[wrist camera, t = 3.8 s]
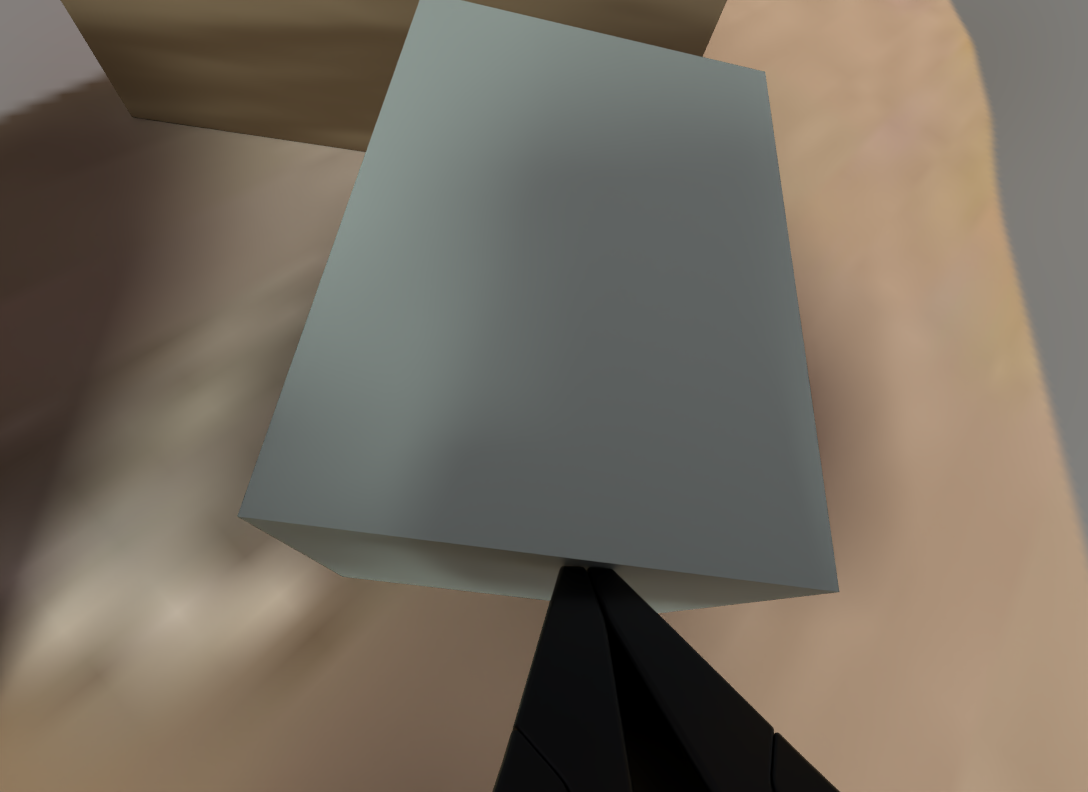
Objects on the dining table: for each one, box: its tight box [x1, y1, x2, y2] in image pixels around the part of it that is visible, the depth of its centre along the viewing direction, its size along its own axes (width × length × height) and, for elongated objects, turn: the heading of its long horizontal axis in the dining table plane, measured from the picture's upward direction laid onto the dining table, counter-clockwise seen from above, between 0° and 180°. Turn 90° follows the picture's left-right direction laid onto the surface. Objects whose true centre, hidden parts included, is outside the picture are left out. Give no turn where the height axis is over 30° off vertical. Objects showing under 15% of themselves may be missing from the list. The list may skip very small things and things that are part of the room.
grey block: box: [238, 0, 839, 613], centre depth 14 cm, size 13×9×8 cm
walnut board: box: [61, 0, 727, 152], centre depth 17 cm, size 2×20×10 cm, turn 89°
